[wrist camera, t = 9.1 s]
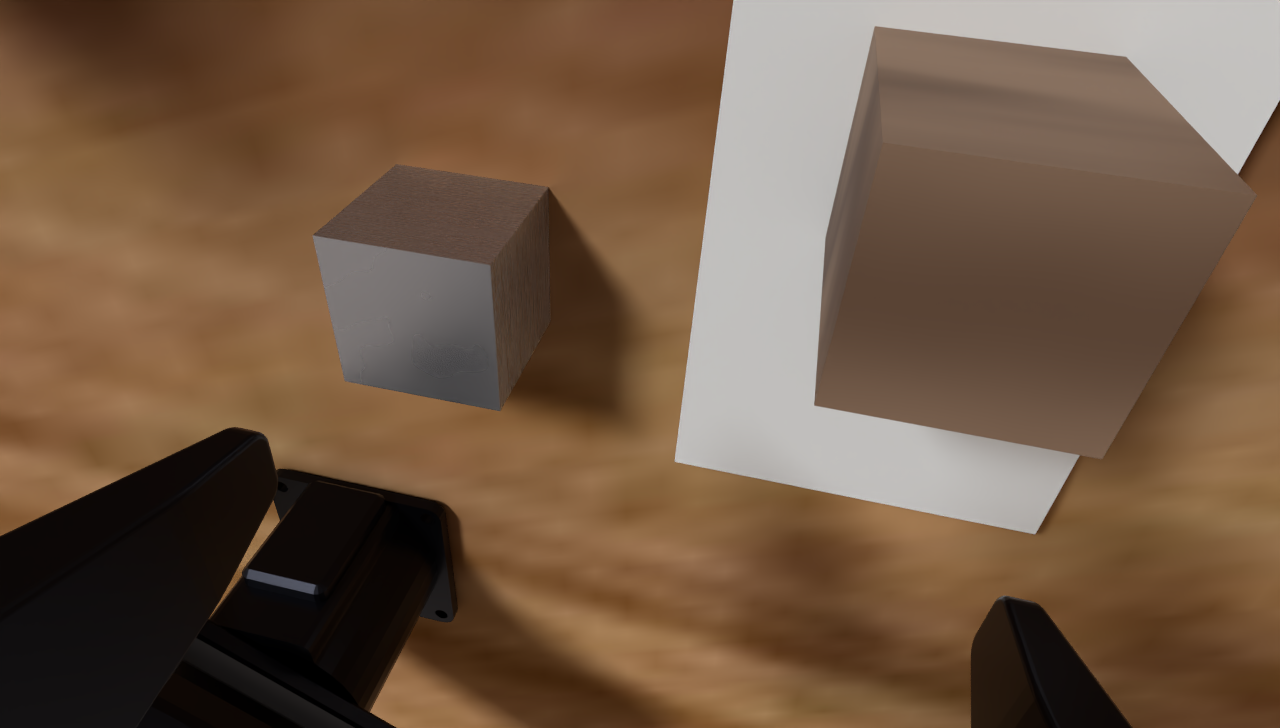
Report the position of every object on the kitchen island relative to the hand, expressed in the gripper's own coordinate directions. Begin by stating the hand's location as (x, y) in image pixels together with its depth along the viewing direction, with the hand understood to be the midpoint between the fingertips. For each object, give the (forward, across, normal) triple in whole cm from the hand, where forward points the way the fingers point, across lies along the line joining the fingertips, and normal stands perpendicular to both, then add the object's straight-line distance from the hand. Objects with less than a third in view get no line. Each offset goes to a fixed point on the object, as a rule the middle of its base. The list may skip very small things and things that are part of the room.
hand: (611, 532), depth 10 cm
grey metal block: (+11, +6, +3) cm, 13 cm away
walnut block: (+10, -5, -2) cm, 11 cm away
